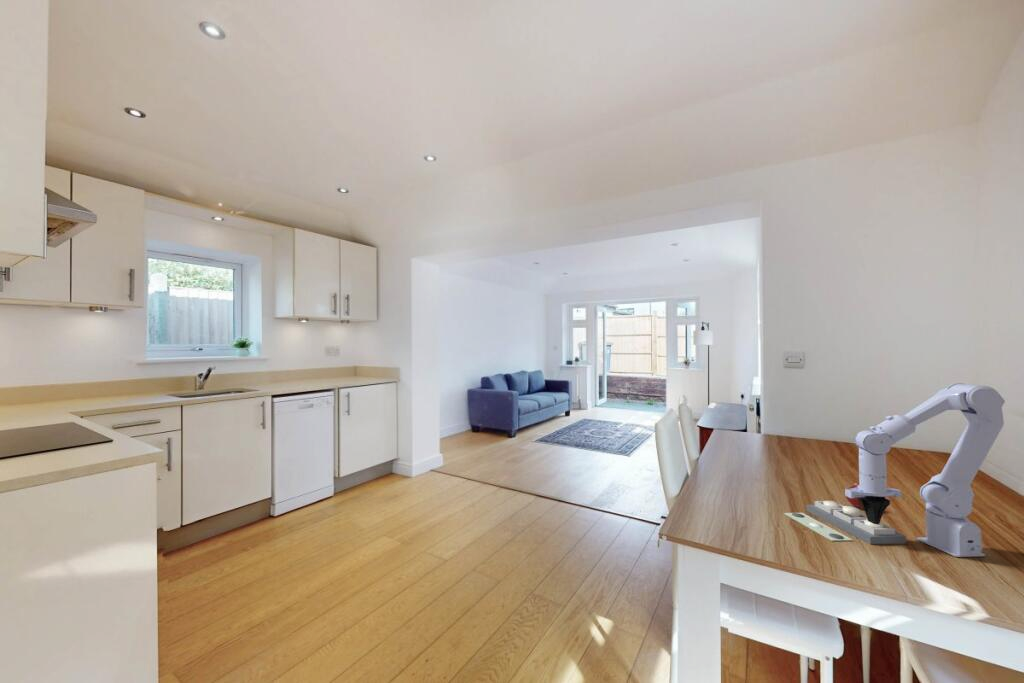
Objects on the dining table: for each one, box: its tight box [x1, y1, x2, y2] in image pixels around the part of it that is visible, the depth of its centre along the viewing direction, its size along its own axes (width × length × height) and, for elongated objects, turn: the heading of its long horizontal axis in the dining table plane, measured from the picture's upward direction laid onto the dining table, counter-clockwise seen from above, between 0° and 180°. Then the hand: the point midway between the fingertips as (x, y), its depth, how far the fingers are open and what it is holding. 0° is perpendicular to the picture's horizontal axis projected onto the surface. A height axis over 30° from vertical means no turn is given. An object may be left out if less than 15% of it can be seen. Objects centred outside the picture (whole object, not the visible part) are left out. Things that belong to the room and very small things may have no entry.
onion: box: [845, 482, 863, 509], centre depth 130 cm, size 6×6×8 cm
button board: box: [806, 500, 907, 545], centre depth 117 cm, size 22×10×4 cm, turn 2°
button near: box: [864, 519, 885, 529], centre depth 110 cm, size 4×4×2 cm
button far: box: [822, 500, 841, 508], centre depth 124 cm, size 4×4×2 cm
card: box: [783, 512, 854, 542], centre depth 116 cm, size 18×6×1 cm, turn 2°
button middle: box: [843, 505, 861, 517], centre depth 117 cm, size 4×4×2 cm
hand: (873, 522), depth 110 cm, fingers closed, pressing on button near
